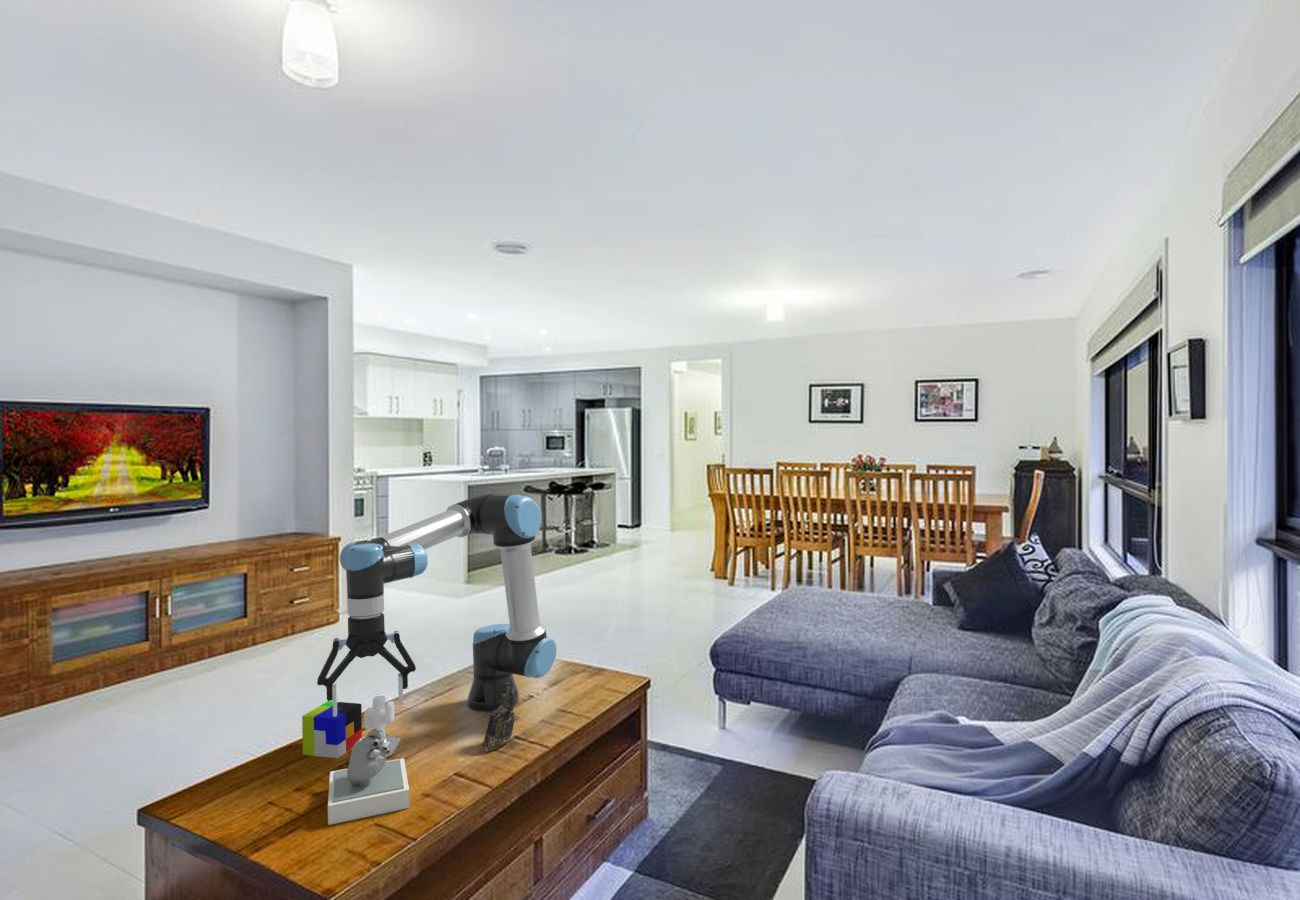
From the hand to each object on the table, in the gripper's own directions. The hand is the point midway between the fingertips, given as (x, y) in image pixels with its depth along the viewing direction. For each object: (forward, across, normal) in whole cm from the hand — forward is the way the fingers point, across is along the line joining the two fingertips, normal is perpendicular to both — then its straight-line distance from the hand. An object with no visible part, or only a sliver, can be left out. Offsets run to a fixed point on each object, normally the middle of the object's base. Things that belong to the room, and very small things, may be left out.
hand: (368, 708), depth 152 cm
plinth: (+20, 0, 0) cm, 20 cm away
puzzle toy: (+20, +8, -31) cm, 38 cm away
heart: (+16, +1, 0) cm, 16 cm away
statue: (+21, -32, -15) cm, 41 cm away
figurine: (+20, -2, -21) cm, 29 cm away
